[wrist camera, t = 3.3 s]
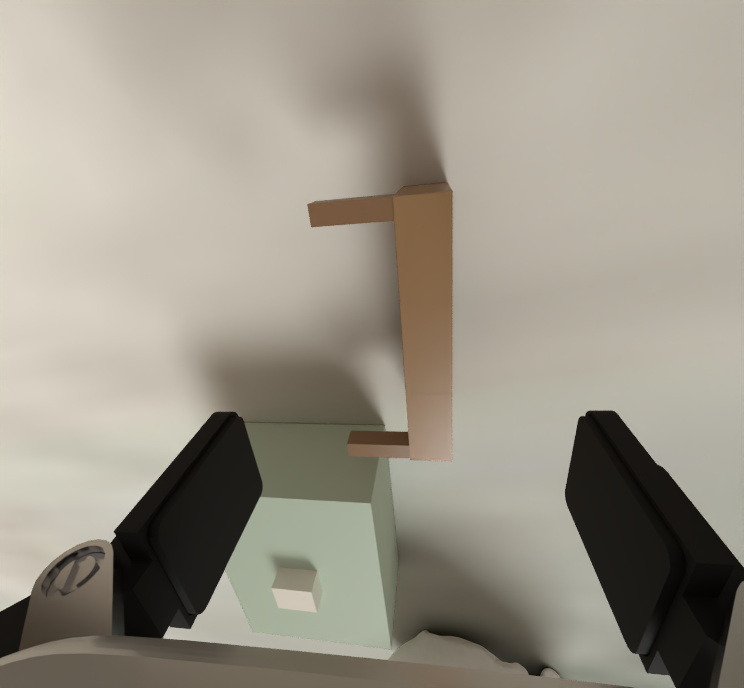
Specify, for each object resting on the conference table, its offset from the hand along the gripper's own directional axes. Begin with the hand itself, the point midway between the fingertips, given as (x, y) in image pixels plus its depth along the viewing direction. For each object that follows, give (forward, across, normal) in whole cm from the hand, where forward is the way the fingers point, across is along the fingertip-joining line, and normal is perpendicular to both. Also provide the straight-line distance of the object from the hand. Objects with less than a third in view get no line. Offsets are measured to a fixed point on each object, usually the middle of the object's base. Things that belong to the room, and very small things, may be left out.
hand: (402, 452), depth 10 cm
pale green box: (+11, +7, +15) cm, 20 cm away
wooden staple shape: (+11, +1, 0) cm, 11 cm away
